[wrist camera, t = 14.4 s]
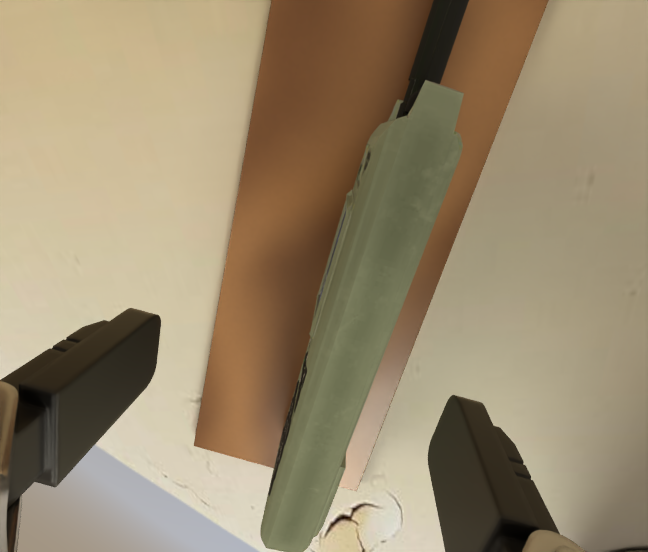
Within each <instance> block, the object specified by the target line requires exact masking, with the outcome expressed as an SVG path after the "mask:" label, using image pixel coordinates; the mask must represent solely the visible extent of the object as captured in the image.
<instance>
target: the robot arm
mask: <svg viewBox="0 0 648 552" xmlns="http://www.w3.org/2000/svg"><path fill="white" fill-rule="evenodd" d="M160 327H161V319H160V316H159V315H156V314H152V313H148V312H145V311H141V310H137V309H133V308H129V309H127V310H125V311H124V312H123V313H121V314H120V315H118V316H117V317H115V318H114V319H112V320H111V321H105V320H104V321H100V322H97V323H94V324H91V325H88V326H85V327H82V328H81V329H79V330H78V331H76V332H74V333H73V334H71V335H70V336H68V337H67V339H66V340H62V341H60V342H59V343H57V344H56V345H54V346H53V348H52V349H50V348H49V349H48V350H46V351H45V352H43V353H42V354H40V355H39V356H37V357H35V358H34V359H32V360H31V361H29V362H28V363H26V364H25V365H23V366H21V367H20V368H18V369H17V370H15V371H14V372H12V373H11V374H9V375H7V376H6V377H4V378H3V379H1V380H0V552H17V546H18V535H19V527H20V517H21V508H22V494H23V493H24V492H25V491H26V490H27V489H28V488H29V487H30V486H31V485H32V484H33V483H34V482H38V483H42V484H45V485H49V486H53V487H57V485H58V484H59V483H60V482H61V481H62V480H63V479H64V478H65V477H66V476H67V474H68V473H69V472H70V471H71V470H72V469H73V467H75V466H76V464H77V463H78V462H79V461H80V460H81V459H82V458H83V457H84V456H85V455H86V453H87V452H88V451H89V450H90V449H91V448H92V446H93V445H95V444H96V442H97V441H98V440H99V439H100V438H101V437H102V436H103V435H104V434H105V432H106V431H107V430H108V429H109V428H110V427H111V426H112V425H113V424H114V423H115V421H116V420H117V419H118V418H119V417H120V416H121V415H122V414H123V413H124V412H125V410H126V409H127V408H128V407H129V406H130V405H131V404H132V403H133V402H134V401H135V399H136V398H137V397H138V396H139V395H140V394H141V393H142V392H143V391H144V389H145V388H146V387H147V386H148V384H149V383H150V381H151V379H152V377H153V375H154V372H155V369H156V364H157V355H158V346H159V336H160ZM428 465H429V471H430V476H431V481H432V486H433V491H434V496H435V501H436V506H437V511H438V516H439V521H440V526H441V531H442V536H443V541H444V547H445V552H586V551H585V550H583V549H582V548H581V547H580V546H578V545H577V544H576V543H574V542H573V541H571V540H570V539H568V538H566V537H564V536H563V535H560V533H559V531H558V529H557V527H556V525H555V523H554V521H553V519H552V517H551V515H550V513H549V511H548V510H547V508H546V506H545V504H544V502H543V500H542V498H541V496H540V494H539V492H538V490H537V488H536V486H535V484H534V482H533V480H531V476H530V474H529V472H528V470H527V468H526V466H525V465H523V460H522V458H521V456H520V454H519V452H518V450H517V448H516V446H515V444H514V443H513V442H512V441H511V440H510V438H509V437H508V436H507V435H506V434H505V433H504V432H503V431H502V430H501V428H500V427H496V426H493V424H492V422H491V419H490V417H489V415H488V413H487V411H486V408H485V406H484V405H483V403H481V402H478V401H474V400H470V399H466V398H463V397H459V396H455V395H452V396H451V397H450V398H449V399H448V401H447V403H446V406H445V408H444V411H443V413H442V415H441V418H440V420H439V422H438V425H437V427H436V429H435V432H434V434H433V436H432V439H431V442H430V446H429V451H428ZM626 552H648V550H637V551H626Z"/></svg>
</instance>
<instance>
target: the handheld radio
mask: <svg viewBox="0 0 648 552" xmlns="http://www.w3.org/2000/svg"><path fill="white" fill-rule="evenodd" d="M468 2H469V0H433V3H432V7H431V10H430V13H429V16H428V19H427V22H426V25H425V29H424V32H423V35H422V38H421V41H420V44H419V47H418V51H417V54H416V57H415V60H414V63H413V66H412V69H411V73H410V76H409V79H408V80H409V81H410V82H409V85H408V88H407V91H406V94H405V97H404V101H403V100H399V99H398V100H397V102H396V104H395V106H394V109H393V111H392V113H391V115H390V118H389V120H388V121H387V122H385V123H382V124H380V125H379V126H378V127H377V128H376V130H375V131H374V132H373V133H372V135H371V136H370V138H369V140H368V142H367V145H366V149H365V153H364V156H363V159H362V161H361V164H360V167H359V171H358V174H357V177H356V180H355V184H354V187H353V190H351V191H350V192H348V193H347V195H346V201H345V204H344V207H343V211H342V214H341V217H340V221H339V224H338V228H337V231H336V234H335V238H334V241H333V245H332V248H331V251H330V255H329V258H328V261H327V265H326V268H325V272H324V275H323V278H322V282H321V285H320V289H319V292H318V294H317V296H316V297H317V300H316V305H315V310H314V315H313V320H312V326H311V331H310V333H309V335H310V336H311V337H310V340H309V343H308V347H307V350H306V354H305V357H304V360H303V364H302V367H301V371H300V374H299V377H298V381H297V384H296V388H295V391H294V395H293V398H292V401H291V405H290V408H289V412H288V414H287V418H286V422H285V425H284V428H283V431H282V435H281V439H280V443H279V448H278V452H277V457H276V461H275V466H274V470H273V475H272V479H271V484H270V488H269V493H268V497H267V502H266V506H265V511H264V515H263V520H262V524H261V538H262V541H263V543H264V545H265V547H266V548H269V549H274V550H279V551H284V552H303V551H304V550H306V549H307V548H308V546H309V545H310V543H311V541H312V539H313V537H315V536H317V535H318V533H319V531H320V530H321V528H322V527H323V524H324V522H325V519H326V517H327V514H328V512H329V509H330V507H331V504H332V502H333V499H334V496H335V494H336V491H337V489H338V486H339V484H340V481H341V479H342V476H343V474H344V471H345V469H346V451H347V448H348V446H349V443H350V440H351V438H352V435H353V433H354V430H355V428H356V425H357V422H358V420H359V417H360V415H361V412H362V409H363V407H364V404H365V402H366V399H367V397H368V394H369V391H370V389H371V386H372V384H373V381H374V378H375V376H376V373H377V371H378V368H379V366H380V363H381V360H382V358H383V355H384V353H385V350H386V347H387V345H388V342H389V340H390V337H391V335H392V332H393V329H394V327H395V324H396V322H397V319H398V316H399V314H400V311H401V309H402V306H403V304H404V301H405V298H406V296H407V293H408V291H409V288H410V285H411V283H412V280H413V278H414V275H415V273H416V270H417V267H418V265H419V262H420V260H421V257H422V254H423V252H424V249H425V247H426V244H427V242H428V239H429V236H430V234H431V231H432V229H433V226H434V223H435V221H436V218H437V216H438V213H439V211H440V208H441V205H442V203H443V200H444V198H445V195H446V192H447V190H448V187H449V185H450V182H451V180H452V177H453V174H454V172H455V169H456V167H457V164H458V161H459V159H460V156H461V152H462V148H463V144H462V139H461V135H460V134H459V133H458V132H456V131H455V127H456V123H457V119H458V115H459V111H460V107H461V103H462V99H463V95H464V93H462V92H460V91H457V90H455V89H452V88H449V87H446V86H443V85H440V83H441V80H442V77H443V74H444V71H445V68H446V65H447V62H448V60H449V57H450V54H451V51H452V48H453V45H454V42H455V39H456V36H457V34H458V31H459V28H460V25H461V22H462V19H463V16H464V13H465V11H466V8H467V5H468Z"/></svg>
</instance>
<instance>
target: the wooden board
mask: <svg viewBox="0 0 648 552" xmlns="http://www.w3.org/2000/svg"><path fill="white" fill-rule="evenodd" d="M432 3H433V0H272V1H271V7H270V13H269V18H268V24H267V30H266V36H265V41H264V47H263V53H262V58H261V64H260V70H259V76H258V81H257V87H256V93H255V98H254V104H253V110H252V116H251V121H250V127H249V133H248V138H247V144H246V150H245V156H244V161H243V167H242V173H241V178H240V184H239V190H238V196H237V201H236V207H235V213H234V218H233V224H232V230H231V236H230V241H229V247H228V253H227V258H226V264H225V270H224V276H223V281H222V287H221V293H220V298H219V304H218V310H217V316H216V321H215V327H214V333H213V338H212V344H211V350H210V356H209V361H208V367H207V373H206V378H205V384H204V390H203V396H202V401H201V407H200V413H199V418H198V424H197V430H196V436H195V441H194V446H196V447H200V448H204V449H207V450H211V451H214V452H218V453H221V454H225V455H229V456H232V457H236V458H239V459H243V460H247V461H250V462H254V463H257V464H261V465H264V466H268V467H272V468H274V466H275V461H276V457H277V452H278V448H279V443H280V439H281V435H282V431H283V428H284V425H285V422H286V418H287V414H288V412H289V408H290V405H291V401H292V398H293V395H294V391H295V388H296V384H297V381H298V377H299V374H300V371H301V367H302V364H303V360H304V357H305V354H306V350H307V347H308V343H309V340H310V337H311V336H310V335H309V333H310V331H311V326H312V320H313V315H314V310H315V305H316V300H317V297H316V296H317V294H318V292H319V289H320V285H321V282H322V278H323V275H324V272H325V268H326V265H327V261H328V258H329V255H330V251H331V248H332V245H333V241H334V238H335V234H336V231H337V228H338V224H339V221H340V217H341V214H342V211H343V207H344V204H345V201H346V195H347V193H348V192H350V191H351V190H353V187H354V184H355V180H356V177H357V174H358V171H359V167H360V164H361V161H362V159H363V156H364V153H365V149H366V145H367V142H368V140H369V138H370V136H371V135H372V133H373V132H374V131H375V130H376V128H377V127H378V126H379V125H380V124H382V123H385V122H387V121H388V120H389V118H390V115H391V113H392V111H393V109H394V106H395V104H396V102H397V100H398V99H399V100H403V101H404V97H405V94H406V91H407V88H408V85H409V82H410V81H409V80H408V79H409V76H410V73H411V69H412V66H413V63H414V60H415V57H416V54H417V51H418V47H419V44H420V41H421V38H422V35H423V32H424V29H425V25H426V22H427V19H428V16H429V13H430V10H431V7H432ZM547 3H548V0H469V2H468V5H467V8H466V11H465V13H464V16H463V19H462V22H461V25H460V28H459V31H458V34H457V36H456V39H455V42H454V45H453V48H452V51H451V54H450V57H449V60H448V62H447V65H446V68H445V71H444V74H443V77H442V80H441V83H440V85H443V86H446V87H449V88H452V89H455V90H457V91H460V92H462V93H464V95H463V99H462V103H461V107H460V111H459V115H458V119H457V123H456V127H455V131H456V132H458V133H459V134H460V135H461V139H462V144H463V148H462V152H461V156H460V159H459V161H458V164H457V167H456V169H455V172H454V174H453V177H452V180H451V182H450V185H449V187H448V190H447V192H446V195H445V198H444V200H443V203H442V205H441V208H440V211H439V213H438V216H437V218H436V221H435V223H434V226H433V229H432V231H431V234H430V236H429V239H428V242H427V244H426V247H425V249H424V252H423V254H422V257H421V260H420V262H419V265H418V267H417V270H416V273H415V275H414V278H413V280H412V283H411V285H410V288H409V291H408V293H407V296H406V298H405V301H404V304H403V306H402V309H401V311H400V314H399V316H398V319H397V322H396V324H395V327H394V329H393V332H392V335H391V337H390V340H389V342H388V345H387V347H386V350H385V353H384V355H383V358H382V360H381V363H380V366H379V368H378V371H377V373H376V376H375V378H374V381H373V384H372V386H371V389H370V391H369V394H368V397H367V399H366V402H365V404H364V407H363V409H362V412H361V415H360V417H359V420H358V422H357V425H356V428H355V430H354V433H353V435H352V438H351V440H350V443H349V446H348V448H347V451H346V469H345V471H344V474H343V476H342V479H341V481H340V484H339V486H340V487H343V488H347V489H351V490H354V491H357V489H358V486H359V484H360V481H361V478H362V476H363V473H364V471H365V468H366V466H367V463H368V461H369V458H370V455H371V453H372V450H373V448H374V445H375V443H376V440H377V438H378V435H379V432H380V430H381V427H382V425H383V422H384V420H385V417H386V415H387V412H388V409H389V407H390V404H391V402H392V399H393V397H394V394H395V392H396V389H397V386H398V384H399V381H400V379H401V376H402V374H403V371H404V369H405V366H406V363H407V361H408V358H409V356H410V353H411V351H412V348H413V346H414V343H415V340H416V338H417V335H418V333H419V330H420V328H421V325H422V322H423V320H424V317H425V315H426V312H427V310H428V307H429V305H430V302H431V299H432V297H433V294H434V292H435V289H436V287H437V284H438V282H439V279H440V276H441V274H442V271H443V269H444V266H445V264H446V261H447V259H448V256H449V253H450V251H451V248H452V246H453V243H454V241H455V238H456V236H457V233H458V230H459V228H460V225H461V223H462V220H463V218H464V215H465V213H466V210H467V207H468V205H469V202H470V200H471V197H472V195H473V192H474V190H475V187H476V184H477V182H478V179H479V177H480V174H481V172H482V169H483V167H484V164H485V161H486V159H487V156H488V154H489V151H490V149H491V146H492V144H493V141H494V138H495V136H496V133H497V131H498V128H499V126H500V123H501V121H502V118H503V115H504V113H505V110H506V108H507V105H508V103H509V100H510V98H511V95H512V92H513V90H514V87H515V85H516V82H517V80H518V77H519V75H520V72H521V69H522V67H523V64H524V62H525V59H526V57H527V54H528V52H529V49H530V46H531V44H532V41H533V39H534V36H535V34H536V31H537V29H538V26H539V23H540V21H541V18H542V16H543V13H544V11H545V8H546V6H547Z"/></svg>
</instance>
